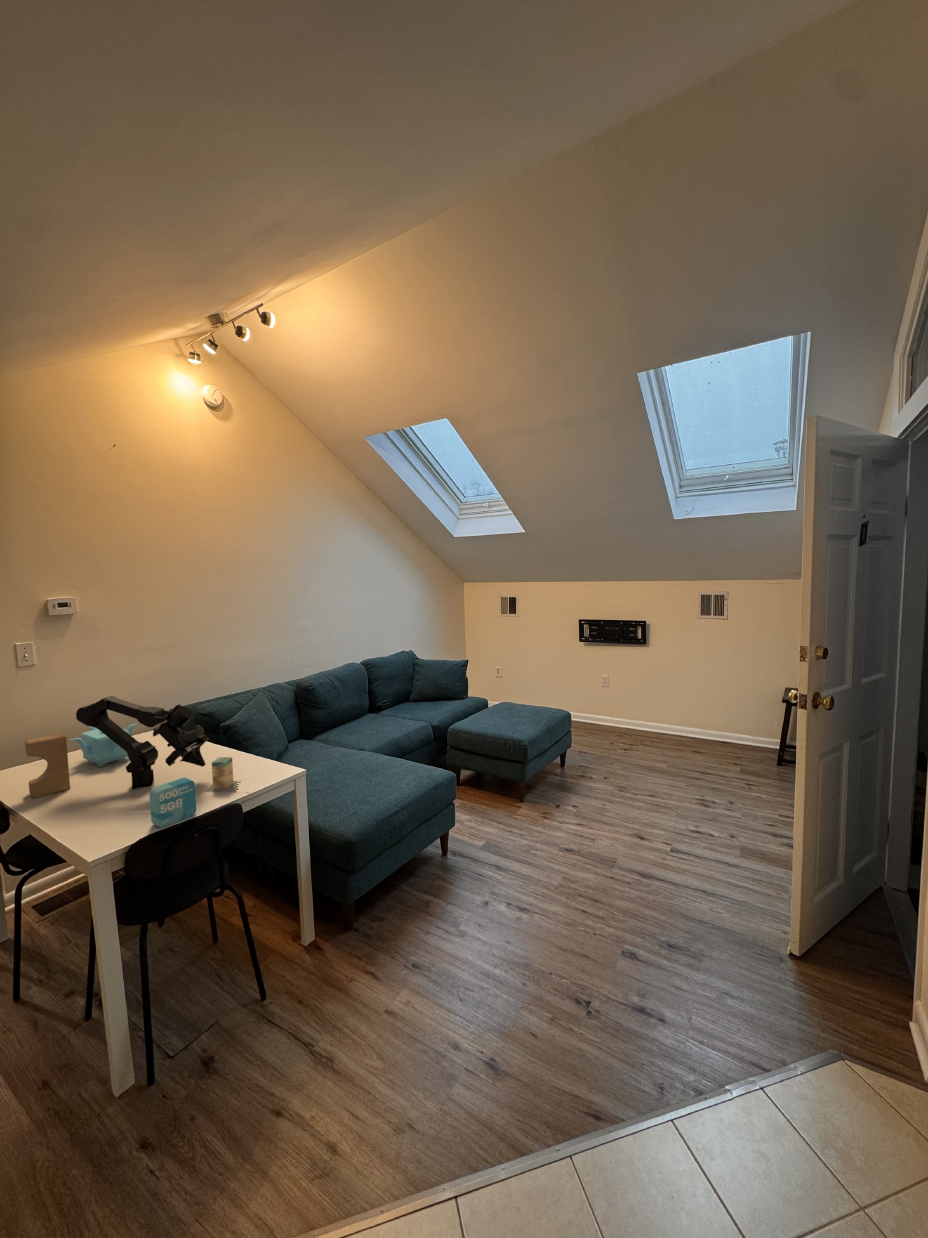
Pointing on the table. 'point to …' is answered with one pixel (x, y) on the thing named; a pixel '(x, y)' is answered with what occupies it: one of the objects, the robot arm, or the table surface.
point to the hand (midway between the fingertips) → (204, 765)
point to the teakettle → (101, 747)
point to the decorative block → (49, 764)
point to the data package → (172, 802)
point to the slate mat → (229, 789)
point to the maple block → (222, 772)
